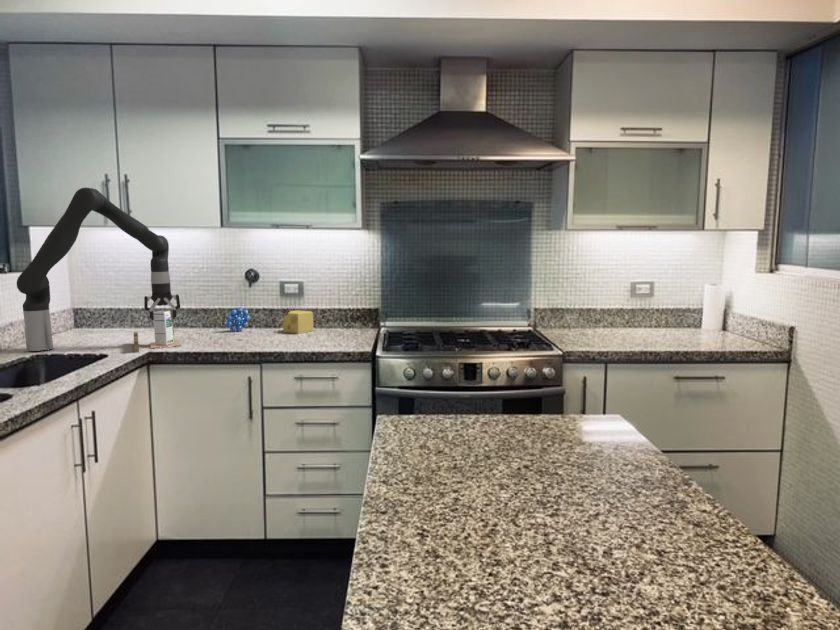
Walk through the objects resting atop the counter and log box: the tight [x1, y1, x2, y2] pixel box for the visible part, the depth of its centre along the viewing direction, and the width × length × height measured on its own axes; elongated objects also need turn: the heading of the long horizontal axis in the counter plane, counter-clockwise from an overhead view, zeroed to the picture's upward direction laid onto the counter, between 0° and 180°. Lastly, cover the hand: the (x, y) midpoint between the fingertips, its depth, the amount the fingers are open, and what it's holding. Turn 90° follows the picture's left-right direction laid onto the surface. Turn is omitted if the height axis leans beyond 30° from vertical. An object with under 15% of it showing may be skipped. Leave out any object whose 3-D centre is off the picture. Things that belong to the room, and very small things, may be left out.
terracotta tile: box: [149, 340, 182, 350], centre depth 256 cm, size 12×12×1 cm
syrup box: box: [153, 309, 176, 345], centre depth 255 cm, size 6×6×14 cm
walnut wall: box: [133, 331, 140, 353], centre depth 251 cm, size 22×2×5 cm, turn 26°
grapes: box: [225, 307, 251, 332], centre depth 289 cm, size 12×7×12 cm, turn 114°
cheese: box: [283, 309, 314, 335], centre depth 287 cm, size 10×11×10 cm
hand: (163, 319), depth 255 cm, fingers open, 8 cm apart
